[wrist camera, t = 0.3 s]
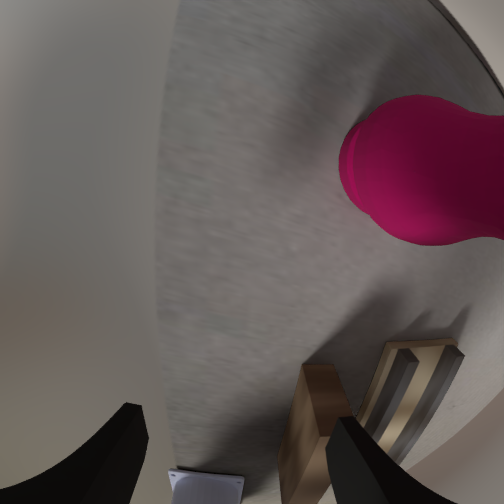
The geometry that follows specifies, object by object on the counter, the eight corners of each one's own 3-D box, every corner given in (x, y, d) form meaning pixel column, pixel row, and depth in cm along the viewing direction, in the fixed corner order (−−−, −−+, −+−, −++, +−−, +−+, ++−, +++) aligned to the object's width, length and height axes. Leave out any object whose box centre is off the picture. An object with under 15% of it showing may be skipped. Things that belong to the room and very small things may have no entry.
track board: (393, 449, 24) (401, 467, 21) (335, 458, 24) (340, 478, 21) (452, 337, 20) (469, 355, 17) (386, 341, 20) (401, 363, 17)
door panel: (304, 454, 23) (314, 511, 17) (277, 455, 23) (282, 514, 17) (336, 363, 20) (364, 432, 13) (301, 363, 20) (320, 436, 13)
